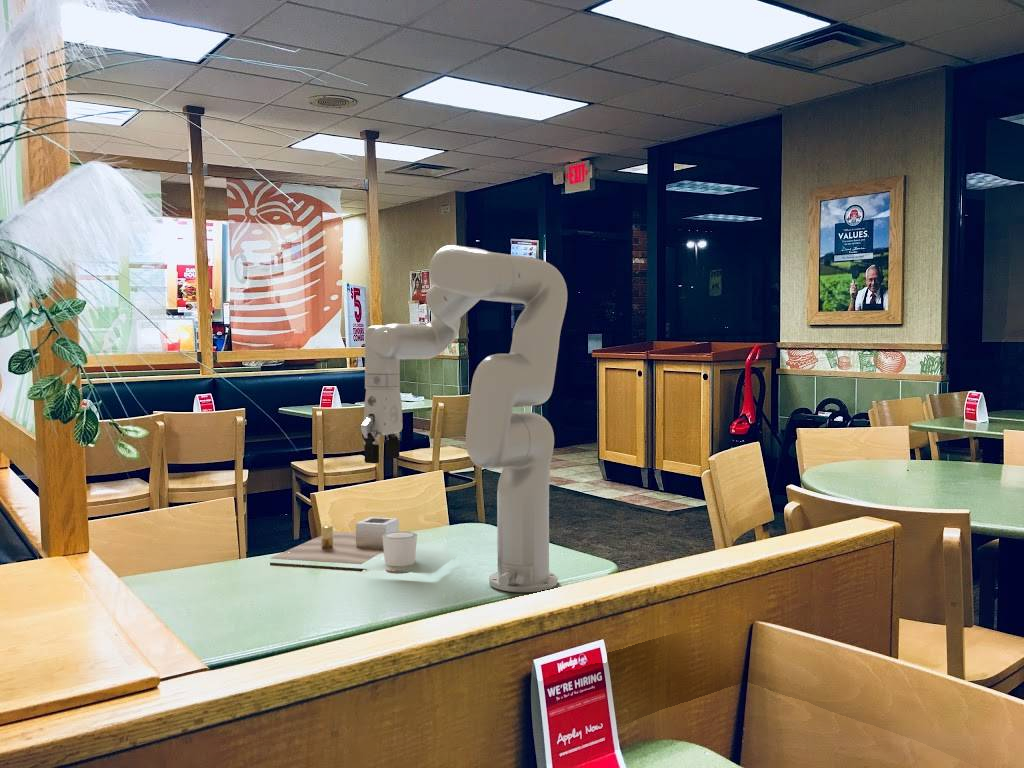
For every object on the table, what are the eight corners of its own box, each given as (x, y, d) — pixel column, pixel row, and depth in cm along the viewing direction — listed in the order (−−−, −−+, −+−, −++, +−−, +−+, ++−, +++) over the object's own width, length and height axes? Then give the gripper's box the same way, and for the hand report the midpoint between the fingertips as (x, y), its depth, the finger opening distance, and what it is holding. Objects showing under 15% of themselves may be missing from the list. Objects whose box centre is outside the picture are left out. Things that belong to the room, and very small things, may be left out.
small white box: (386, 548, 168) (386, 524, 168) (355, 546, 170) (355, 523, 170) (398, 540, 175) (398, 518, 175) (369, 539, 177) (369, 517, 176)
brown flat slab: (360, 571, 155) (360, 563, 155) (269, 565, 160) (269, 558, 160) (410, 542, 180) (410, 535, 180) (330, 537, 185) (330, 531, 185)
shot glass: (421, 565, 159) (420, 531, 159) (413, 574, 152) (413, 538, 152) (387, 565, 160) (387, 530, 160) (378, 574, 153) (378, 538, 153)
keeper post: (329, 549, 167) (329, 528, 167) (319, 548, 168) (319, 527, 168) (334, 546, 170) (334, 525, 170) (324, 546, 170) (324, 525, 170)
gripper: (379, 383, 164) (379, 466, 164) (414, 381, 180) (414, 456, 181) (347, 383, 166) (347, 464, 166) (385, 380, 182) (385, 454, 183)
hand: (382, 460), depth 173 cm, fingers open, 9 cm apart
